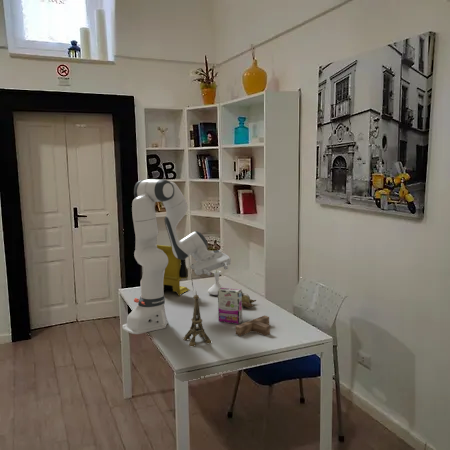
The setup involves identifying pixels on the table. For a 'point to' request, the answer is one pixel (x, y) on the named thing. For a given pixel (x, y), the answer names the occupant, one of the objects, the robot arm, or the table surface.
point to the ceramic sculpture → (247, 301)
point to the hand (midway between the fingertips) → (218, 270)
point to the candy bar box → (230, 305)
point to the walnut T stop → (254, 326)
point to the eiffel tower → (194, 329)
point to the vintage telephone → (174, 271)
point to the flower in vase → (216, 286)
